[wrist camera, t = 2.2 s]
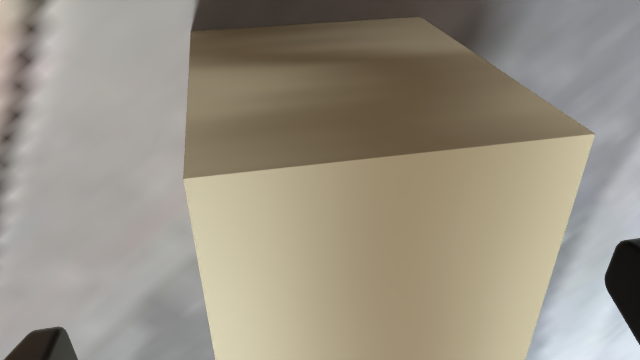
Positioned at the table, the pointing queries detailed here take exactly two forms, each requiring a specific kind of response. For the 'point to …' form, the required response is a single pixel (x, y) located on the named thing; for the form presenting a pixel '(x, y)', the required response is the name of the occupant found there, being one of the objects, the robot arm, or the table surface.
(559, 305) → the table surface
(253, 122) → the module block
